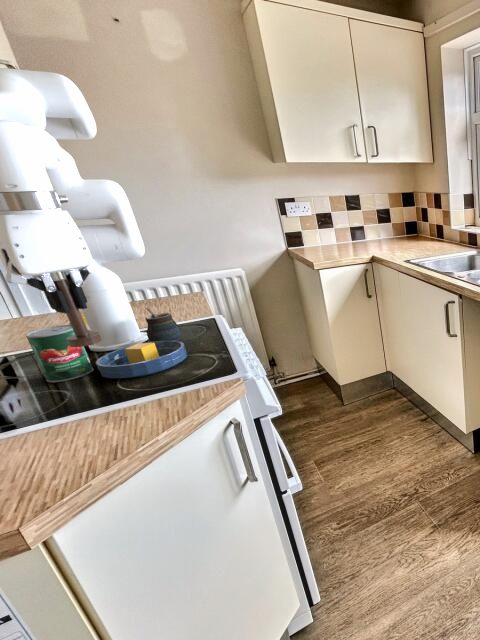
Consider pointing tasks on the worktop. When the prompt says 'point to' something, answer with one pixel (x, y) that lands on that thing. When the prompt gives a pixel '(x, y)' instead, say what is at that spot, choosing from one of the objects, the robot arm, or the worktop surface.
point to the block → (141, 352)
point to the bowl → (120, 366)
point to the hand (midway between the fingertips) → (71, 309)
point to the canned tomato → (59, 354)
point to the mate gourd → (162, 327)
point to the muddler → (76, 319)
